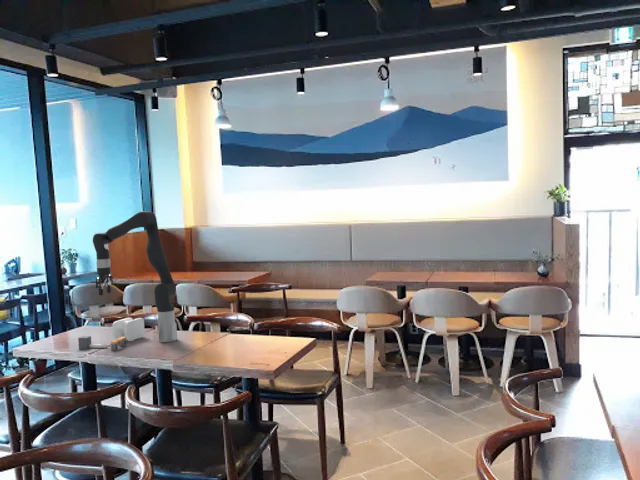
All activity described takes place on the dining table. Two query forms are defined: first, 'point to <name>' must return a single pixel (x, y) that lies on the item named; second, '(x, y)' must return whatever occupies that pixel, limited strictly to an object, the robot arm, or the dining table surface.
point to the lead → (88, 343)
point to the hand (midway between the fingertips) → (105, 294)
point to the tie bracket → (115, 343)
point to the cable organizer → (128, 329)
